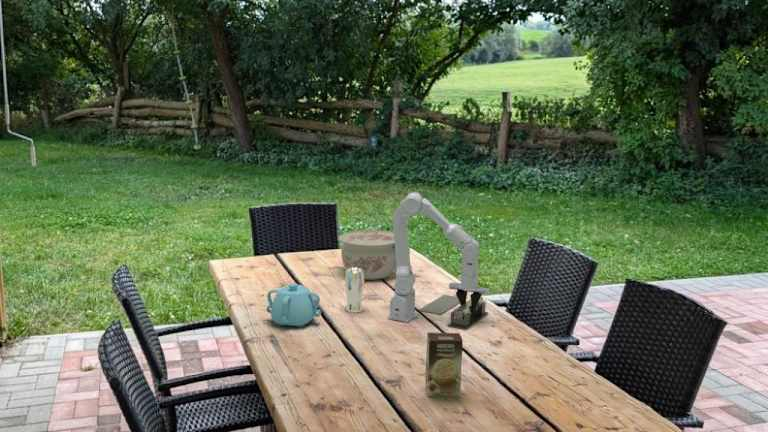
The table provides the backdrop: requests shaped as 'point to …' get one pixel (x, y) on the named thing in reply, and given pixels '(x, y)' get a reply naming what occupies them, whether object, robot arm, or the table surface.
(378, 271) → the chamber pot
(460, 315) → the rail
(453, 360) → the coffee box
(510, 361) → the table surface
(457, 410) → the table surface
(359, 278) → the beer glass
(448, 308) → the pad
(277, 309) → the decorative pot
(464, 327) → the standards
